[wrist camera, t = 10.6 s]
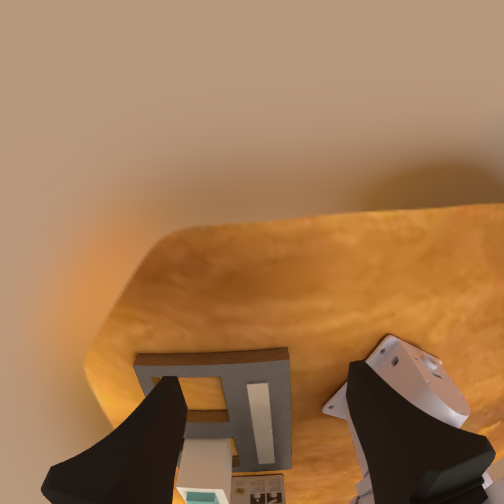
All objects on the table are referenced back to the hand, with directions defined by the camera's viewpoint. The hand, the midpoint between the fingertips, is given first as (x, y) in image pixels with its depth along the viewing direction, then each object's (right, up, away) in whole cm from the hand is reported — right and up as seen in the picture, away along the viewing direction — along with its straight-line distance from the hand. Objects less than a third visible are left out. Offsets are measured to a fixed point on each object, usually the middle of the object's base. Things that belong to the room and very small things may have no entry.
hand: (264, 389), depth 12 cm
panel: (-3, -10, +14) cm, 17 cm away
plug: (-5, -13, +15) cm, 21 cm away
